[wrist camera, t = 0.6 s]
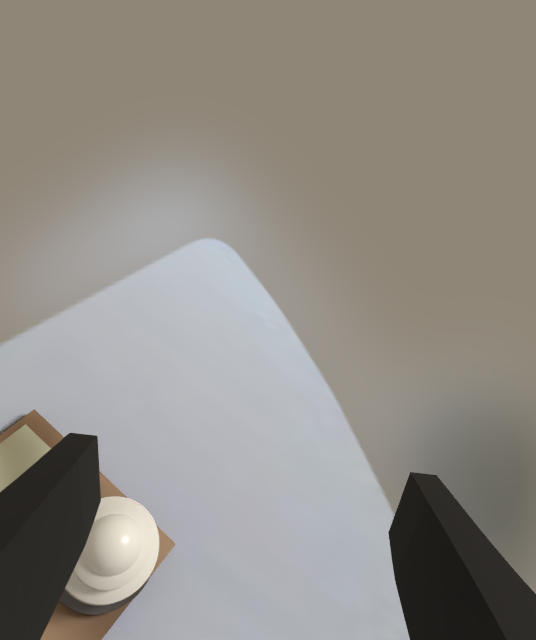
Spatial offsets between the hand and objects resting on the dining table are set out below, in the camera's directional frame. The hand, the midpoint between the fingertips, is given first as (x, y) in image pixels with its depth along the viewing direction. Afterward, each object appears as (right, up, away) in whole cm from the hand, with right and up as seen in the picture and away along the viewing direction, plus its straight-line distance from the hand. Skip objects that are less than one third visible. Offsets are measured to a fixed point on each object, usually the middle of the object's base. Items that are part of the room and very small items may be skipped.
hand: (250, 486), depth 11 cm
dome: (-7, -7, +12) cm, 16 cm away
